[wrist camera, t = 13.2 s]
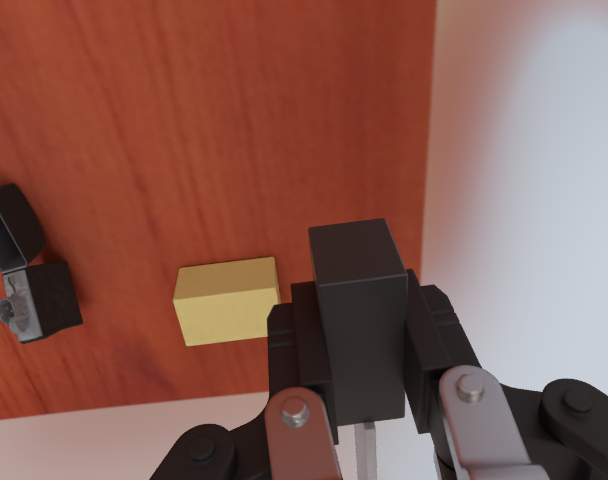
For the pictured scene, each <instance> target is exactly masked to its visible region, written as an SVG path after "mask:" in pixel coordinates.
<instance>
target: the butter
mask: <svg viewBox="0 0 608 480" xmlns="http://www.w3.org/2000/svg"><path fill="white" fill-rule="evenodd" d="M173 303H174V306H175V310H176V313H177V316H178V320H179V323H180V326H181V330H182V333H183V336H184V340H185V343H186V346H194V345H202V344H210V343H218V342H226V341H234V340H242V339H250V338H258V337H266V336H268V335H267V317H268V315H269V313H270V311H271V309H272V307H273V306H274V305H276V304H281V300H280V293H279V286H278V279H277V273H276V266H275V259H274V257H266V258H257V259H249V260H241V261H233V262H224V263H216V264H208V265H200V266H192V267H183V268H179V272H178V277H177V282H176V287H175V292H174V297H173Z"/></svg>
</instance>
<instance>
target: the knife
mask: <svg viewBox="0 0 608 480" xmlns="http://www.w3.org/2000/svg"><path fill="white" fill-rule="evenodd" d="M308 233H309V242H310V251H311V260H312V270H313V279H314V283H315V289H316V295H317V301H318V308H319V314H320V320H321V327H322V330H323V331H325V337H326V343H327V349H328V355H329V361H330V367H331V373H332V379H333V388H334V398H335V409H336V420H337V426H344V425H351V424H354V428H355V443H356V459H357V473H358V480H377V461H376V429H375V424H374V421H382V420H390V419H398V418H403V417H404V416H405V388H404V385H403V374H404V323H405V321H406V320H407V287H408V274H407V272H406V269H405V267H404V264H403V262H402V259H401V257H400V254H399V252H398V249H397V247H396V244H395V242H394V239H393V237H392V234H391V232H390V230H389V227H388V225H387V222H386V220H385V219H384V218H381V219H373V220H365V221H357V222H349V223H341V224H333V225H325V226H317V227H310V228H309V229H308Z"/></svg>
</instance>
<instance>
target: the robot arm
mask: <svg viewBox="0 0 608 480" xmlns="http://www.w3.org/2000/svg"><path fill="white" fill-rule="evenodd" d="M406 272H407V274H408V287H407V320H406V321H405V323H404V374H403V385H404V388H405V391H406V394H407V398H408V401H409V404H410V408H411V411H412V414H413V418H414V421H415V424H416V427H417V431H418V433H419V434H423V433H430V434H431V437H432V440H433V443H434V463H435V467H436V471H437V476H438V480H608V396H607V395H606V394H604V393H603V392H601V391H600V390H598V389H597V388H595V387H593V386H591V385H590V384H587V383H585V382H582V381H579V380H575V379H558V380H555V381H552V382H550V383H549V384H547V386H545V388H544V390H543V392H538V391H531V390H524V389H517V388H512V387H509V386H506V385H503V384H501V383H499V381H498V380H497V379H496V378H495V377H494V376H493V375H492V374H490V373H489V372H488V371H486V370H484V369H482V367H481V365H480V363H479V361H478V359H477V357H476V355H475V353H474V351H473V349H472V347H471V345H470V342H469V340H468V338H467V336H466V334H465V332H464V330H463V328H462V326H461V324H460V323H459V319H458V317H457V315H456V313H454V309H453V307H452V305H451V303H450V301H449V298H448V297H447V295H445V294H444V293H443V292H442V291H441V290H440V289H438V288H437V287H436V286H435V285H427V286H420V285H419V282H418V280H417V277H416V275H415V273H414V271H413V269H406ZM291 294H292V303H284V304H276V305H274V306H273V307H272V309H271V311H270V313H269V315H268V317H267V335H268V336H267V339H268V367H269V399H268V402H267V405H266V406H265V408H264V409H263V411H262V412H261V413H260V414H259V415H258V416H257V417H256V418H255V419H253V420H252V421H250V422H248V423H246V424H244V425H242V426H240V427H238V428H235V429H233V430H231V431H228V430H227V429H225V428H224V427H222V426H220V425H216V424H203V425H198V426H196V427H193V428H191V429H189V430H188V431H186V432H185V433H184V434H183V435H182V436H180V438H179V439H178V440H177V441H176V443H175V444H174V445H173V447H172V448H171V450H170V451H169V452H168V454H167V455H166V457H165V458H164V459H163V461H162V462H161V464H160V465H159V467H158V468H157V469H156V471H155V472H154V474H153V475H152V476H151V478H150V479H149V480H343V478H342V474H341V470H340V466H339V462H338V458H337V453H336V449H335V445H337V444H339V441H338V431H337V420H336V409H335V398H334V388H333V379H332V373H331V367H330V361H329V355H328V349H327V343H326V337H325V331H323V330H322V327H321V320H320V314H319V308H318V301H317V295H316V289H315V283H314V281H310V282H302V283H294V284H291Z"/></svg>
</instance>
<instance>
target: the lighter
mask: <svg viewBox="0 0 608 480" xmlns="http://www.w3.org/2000/svg"><path fill="white" fill-rule="evenodd" d="M45 247H46V242H45V239H44V236H43V233H42V230H41V227H40V225H39V223H38V221H37V219H36V217H35V215H34V213H33V211H32V209H31V208H30V206H29V204H28V203H27V201H26V199H25V197H24V196H23V195H22V194H21V192H20V191H19V190H18V188H17V187H16V186H15V185H14V184H8V185H5V186H1V187H0V270H1V271H2V273H3V275H2V277H3V281H4V285H5V290H6V295H7V298H5V299H2V300H0V319H1V322H3V323H4V324H6V325H8V326H9V327H10V330H11V331H12V332H13V333H15V334H17V335H18V339H19V342H21V343H22V344H26V343H30V342H33V341H37V340H41V339H45V338H47V337H49V336H51V335H53V334H55V333H56V332H58V331H60V330H62V329H66V328H70V327H73V326H77V325H81V324H83V320H82V316H81V313H80V309H79V305H78V302H77V298H76V294H75V291H74V287H73V283H72V280H71V276H70V273H69V269H68V265H67V262H66V261H64V262H57V263H49V264H42V265H34V266H27V265H28V264H29V263H30V262H31V261H32V260H33V259H34V258H35V257H36V256H37V255H38V254H39V253H40V252H41V251H42V250H43V249H44V248H45ZM6 307H7V310H6V309H5V308H6ZM1 314H2V316H1ZM8 316H9V319H8Z"/></svg>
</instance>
